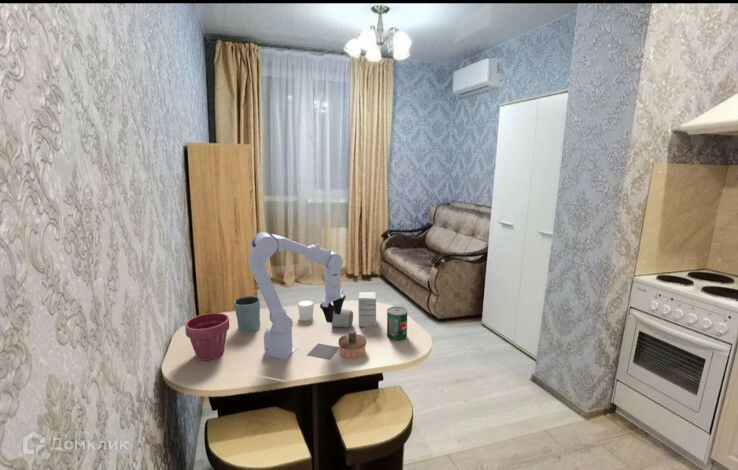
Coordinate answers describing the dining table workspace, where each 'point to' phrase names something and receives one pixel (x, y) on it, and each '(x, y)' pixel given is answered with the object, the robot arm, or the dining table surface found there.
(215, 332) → the plant pot
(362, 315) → the supplement box
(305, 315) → the shot glass
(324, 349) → the charcoal mat
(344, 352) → the terracotta bowl
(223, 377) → the dining table surface
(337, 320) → the ceramic mug
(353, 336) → the walnut lid
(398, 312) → the canned tomato
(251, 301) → the teal cup
